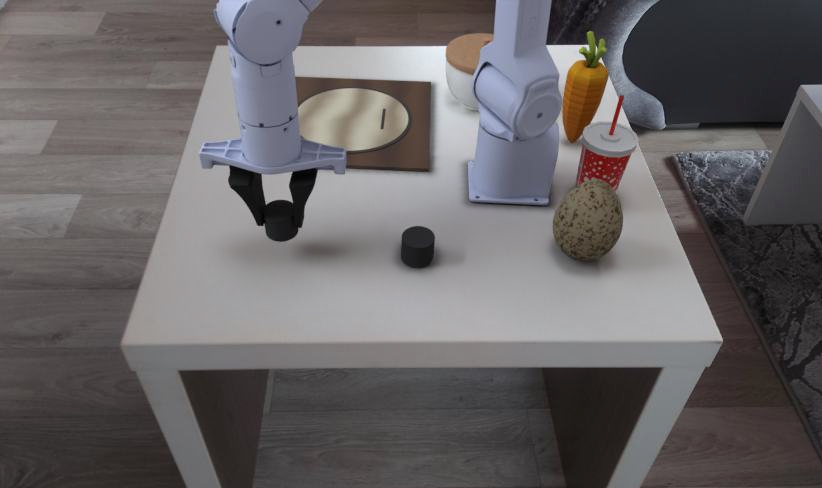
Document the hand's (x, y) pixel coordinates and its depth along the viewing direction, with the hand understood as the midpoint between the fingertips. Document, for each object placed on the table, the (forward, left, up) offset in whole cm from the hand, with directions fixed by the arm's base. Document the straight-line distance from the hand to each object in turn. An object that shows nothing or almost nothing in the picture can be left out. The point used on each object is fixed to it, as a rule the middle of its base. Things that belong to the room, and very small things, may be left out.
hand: (281, 221), depth 75 cm
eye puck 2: (-15, 0, -4) cm, 15 cm away
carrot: (-35, -24, -4) cm, 43 cm away
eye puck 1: (0, 0, -1) cm, 1 cm away
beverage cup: (-36, -12, -4) cm, 38 cm away
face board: (-5, -27, -4) cm, 28 cm away
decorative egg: (-33, -2, -4) cm, 33 cm away
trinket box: (-23, -34, -4) cm, 41 cm away
